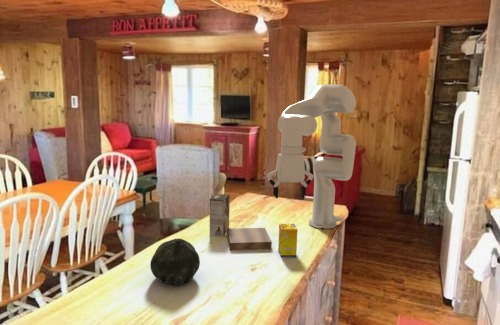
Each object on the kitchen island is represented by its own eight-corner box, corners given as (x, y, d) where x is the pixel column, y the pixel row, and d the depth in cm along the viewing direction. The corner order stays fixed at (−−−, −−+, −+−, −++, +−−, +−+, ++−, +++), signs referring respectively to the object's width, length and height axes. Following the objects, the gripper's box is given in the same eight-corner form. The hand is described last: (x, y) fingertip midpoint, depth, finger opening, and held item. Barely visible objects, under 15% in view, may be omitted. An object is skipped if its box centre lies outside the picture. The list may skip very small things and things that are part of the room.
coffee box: (215, 228, 171) (215, 193, 169) (229, 230, 170) (230, 194, 167) (209, 236, 163) (209, 198, 160) (223, 237, 161) (224, 199, 159)
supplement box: (277, 251, 149) (278, 223, 147) (293, 250, 149) (294, 223, 147) (280, 257, 143) (281, 229, 141) (296, 257, 143) (297, 228, 142)
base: (264, 234, 166) (264, 227, 165) (271, 249, 150) (271, 241, 150) (227, 235, 164) (227, 228, 163) (230, 250, 148) (230, 242, 148)
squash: (160, 250, 133) (153, 228, 121) (204, 253, 133) (200, 232, 121) (151, 291, 124) (142, 272, 113) (197, 294, 124) (193, 276, 112)
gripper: (311, 149, 144) (309, 194, 147) (265, 149, 142) (264, 194, 145) (317, 152, 137) (315, 199, 140) (269, 152, 135) (267, 200, 137)
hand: (289, 197), depth 142 cm, fingers open, 9 cm apart
